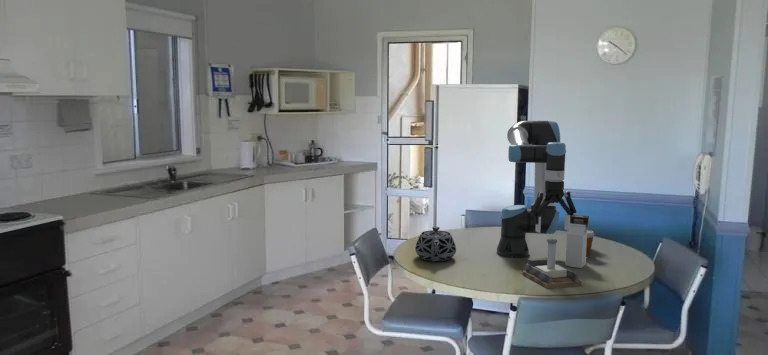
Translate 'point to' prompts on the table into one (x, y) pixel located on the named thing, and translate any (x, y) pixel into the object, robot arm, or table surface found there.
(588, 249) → the disposable coffee cup
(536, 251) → the table surface
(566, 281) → the base
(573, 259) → the milk carton
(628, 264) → the table surface
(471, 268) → the table surface
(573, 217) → the coffee box
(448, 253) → the black lattice pot
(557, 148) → the robot arm
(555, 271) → the white pillar stand
